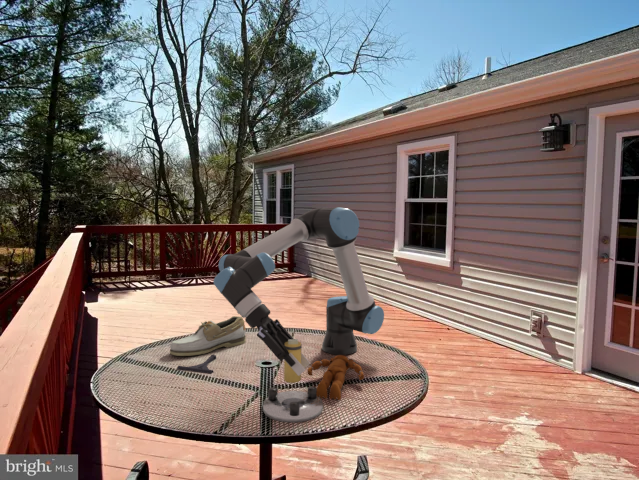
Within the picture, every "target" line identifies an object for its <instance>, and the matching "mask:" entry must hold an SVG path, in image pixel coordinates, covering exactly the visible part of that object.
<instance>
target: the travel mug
mask: <svg viewBox="0 0 639 480" xmlns="http://www.w3.org/2000/svg"><path fill="white" fill-rule="evenodd" d="M284 346H285V348H286V349H287V351H288V352H289V354H290V353H292V354H293V355H294V357H295V358H296V359H297V360H298V361H299V362H300V363H301V353H302V348H303V345H302V342H300V341H299V340H298V338H293V339H288V342H285V344H284ZM283 361H284V363H283V365H284V366H283V380H284V382H285V383H290V384H292V383H293V384H296V383H298V382H301V380H302V374H301V375H299V376H298V375H297V374H296V373H295V371H294V370H293V369H292V368H291V367H290V366H289V365H288V363H287V362H286V361H285V360H284V359H283Z"/></svg>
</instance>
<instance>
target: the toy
mask: <svg viewBox="0 0 639 480" xmlns="http://www.w3.org/2000/svg"><path fill="white" fill-rule="evenodd" d="M321 367H322V368H326V367H327V369H326V371H324V372H323V375H322V379H321V380H320V381H319V383H318V384H317V387H316V388H317V396H318V397H319V398H321V399H328V397H329V400H339V401H341V399H342V392H341V390H342V389H343V384H344V383H345V379H346V377H345V376H346V374H347V371H348V370H349V369H351V370H353V371H354V372H355V373H356V374H358V375H357V376H358V379H359V381H363V380H364V378H365V374H364V372H363V368H362V367H361V365H360V364H358V363H356V362H355V361H354V360H353V359H351V358H350V359H349V358H348V357H347V355H334V357H331V358H330V359H327V358H323V359H321V360H316V361H314V362H313V363H312V364H311V366H309V367H308V368H307V375H308V376H310V377H312V376H313V371H317V370H319V369H320V368H321ZM329 388H330V389H329ZM328 389H329V396H328Z"/></svg>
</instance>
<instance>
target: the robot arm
mask: <svg viewBox="0 0 639 480" xmlns="http://www.w3.org/2000/svg"><path fill="white" fill-rule="evenodd" d="M359 228H360V220H359V218H358V215H357V214H356V213H355V211H353V210H352V209H349V208H345V207H342V206H341V207H340V206H339V207H318V208H314V209H311V210H309V211H307V212H305V213H303V214H301V215H299V216H297V217H295V218H293V219H291V221H290V224H288V225H286V226H284V227H282V228H280V229H279V230H277V231H275V232H273V233H271V234H269V235H267V236H265V237H264V238H261V239H260V240H258V241H256V242H255V243H253V244H251V245H248V246H247V247H246V248H244V249H242V250H240V251H238V252H236V253H233V254H232V253H229V254H224V255H223V256H221V258H220V259H219V262H218V270H219V273H217V274H216V276H215V277H214V278H213V285H214V286H215V288H216V289H217V291H219V294H221V295H222V296H223V297H224V298H225V299H226V300H227V301H228V303H229V304H230V305H231V306H232V307H233V309H234V310H235V311H236V313H237V314H238V315H240V317H242V318H243V319H244V322H246V324H247V325H248V326H249V327H250V328H251V329H254V328H256V329H257V330H258V332H257V333H256V336H257V337H258V338H259V339H260V340H261V341H262V342H263V343H264V344H265V345H266V347H267V348H268V349H269V351H271V352H272V354H273V355H274V356H275V357H276V358H277V359H278V360H279V361H280V362H282V361H284V360H285V361H286V362H287V363H288V365H289V366H290V367H291V368H292V369H293V370H294V371H295V373H296V374H297V375H298V376H299V375H301V376H302V374H303V373H304V372H305V371H306V369H307V367H308V366H310V365H311V361H309V359H308V358H307V357H306V356H305V354H303V352H301V363H300V362H299V361H298V360H297V359H296V358H295V357H294V355H293V354H292V353H290V354H289V352H288V351H287V349H286V348H285V346H284V344H285V342H288V339H294V337H293V336H292V335H291V334H290V333H289V332H288V330H286V328H285V327H284V326H283V325H282V324H281V322H280V320H279V319H278V318H276V319H275V320H273V319H272V318H271V317H270V316H269V315H271V310H270V309H269V308H268V307H267V306H266V304H265V303H262V302H263V301H262V300H261V299H260V297H258V295H257V294H256V293H255V292H254V290H252V289H253V288H254V287H255V286H257V285H258V284H259V283H261V282H262V281H263V280H265V279H266V278H268V277H269V276H270V275H271V274H272V273H273V272H274V271H275V269H276V264H275V262H274V259H273V257H275V256H277V255H278V254H280V253H281V252H284V251H286V250H287V249H289V248H291V247H292V246H294V245H296V244H297V243H299V242H303V243H304V242H306V241H308V240H309V239H315V238H316V239H317V238H319V239H325V243H326V245H327V247H328V248H329V249H331V250H332V251H333V254H334V255H333V256H334V258H335V261H336V264H337V268H338V271H339V274H340V278H341V281H342V285H343V287H344V290H345V294H346V295H341V296H334V297H329V298H328V299H327V301H326V308H325V310H326V312H325V313H326V321H325V322H326V331H325V335H324V338H323V341H322V344H321V349H322V351H323V352H324V353H326V354H331V355H335V356H337V355H344V356H347V355H351V354H355V353H356V352H357V351H358V344H357V341H356V337H355V335H354V331H356V332H359V333H362V334H367V335H368V334H369V335H374V334H376V333H378V332H379V331H380V329H381V328H382V326H383V323H384V320H385V312H384V311H385V310H384V309H383V307H381V306H380V305H376V302H375V298H374V296H373V295H370V293H369V290H368V287H367V284H366V281H365V277H364V272H363V269H362V266H361V262H360V259H359V255H358V253H357V248H356V246H355V242H356V241H357V239H358V237H357V236H358V235H359V232H360V230H359Z"/></svg>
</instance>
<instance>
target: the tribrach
mask: <svg viewBox="0 0 639 480" xmlns="http://www.w3.org/2000/svg"><path fill="white" fill-rule="evenodd" d="M267 393H268V395H267V397H266V398H265V399H264V401H263V403H262V411H263V414H265V416H266V417H268V418H269V419H272V420H274V421H277V422H282V423H302V422H306V421H307V422H308V421H311V420H314V419H315V418H317V417H319V416H320V415H321V414H322V413H323V411H324V402H323V400H322V398H320V396H319V397H318V396H317V387H316V386H313V385H312V386H308V387H307V391H301V390H289V391H288V390H287V391H280V392H278V387H270V388H268V392H267Z"/></svg>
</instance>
